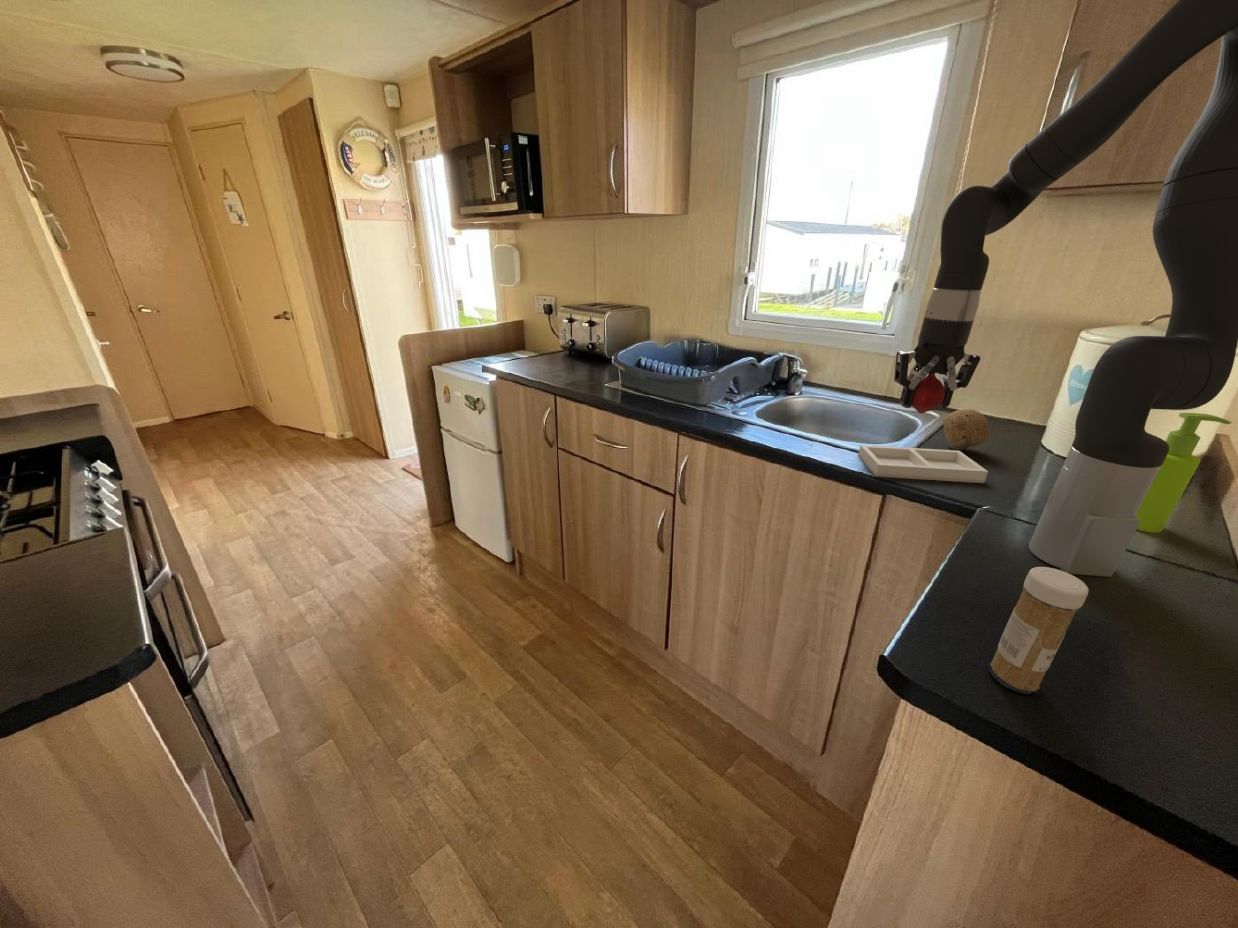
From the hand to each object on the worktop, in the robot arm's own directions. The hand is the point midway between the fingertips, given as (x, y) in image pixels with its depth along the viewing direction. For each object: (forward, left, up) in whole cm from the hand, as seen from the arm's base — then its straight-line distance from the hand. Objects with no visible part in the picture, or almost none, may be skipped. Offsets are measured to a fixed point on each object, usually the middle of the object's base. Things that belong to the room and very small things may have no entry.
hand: (923, 407), depth 92 cm
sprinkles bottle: (-51, +9, -16) cm, 55 cm away
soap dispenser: (-12, -35, -16) cm, 40 cm away
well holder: (+7, -6, -15) cm, 18 cm away
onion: (0, 0, -1) cm, 1 cm away
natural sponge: (+20, -21, -16) cm, 33 cm away
